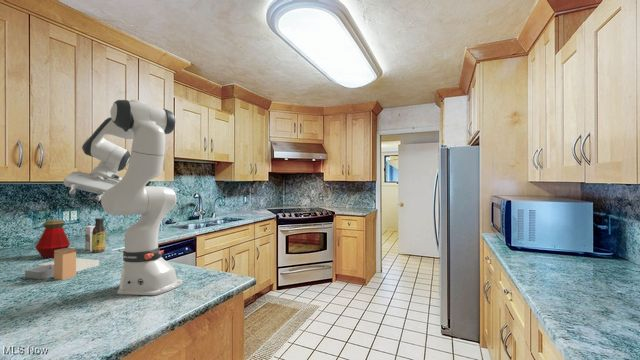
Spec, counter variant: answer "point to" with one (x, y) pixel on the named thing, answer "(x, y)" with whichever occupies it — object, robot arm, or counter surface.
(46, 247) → the red faceted jar
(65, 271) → the tan upright wooden block
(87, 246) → the syrup box
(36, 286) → the counter surface
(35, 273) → the white slab
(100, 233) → the sauce bottle
